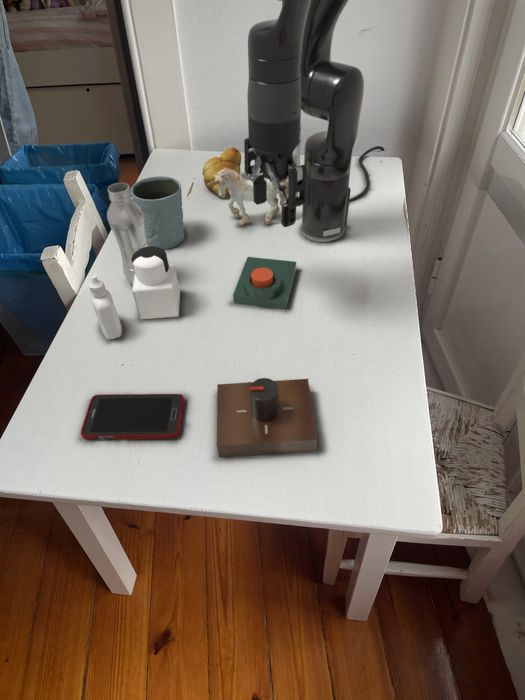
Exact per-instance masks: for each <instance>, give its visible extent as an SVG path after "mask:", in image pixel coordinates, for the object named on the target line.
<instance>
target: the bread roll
mask: <svg viewBox="0 0 525 700" xmlns="http://www.w3.org/2000/svg"><path fill="white" fill-rule="evenodd" d="M241 164H242V154H241V152H240V150H239V149H238V148H236V147H229V148H227V149H225V150H224V151H223V152H222V153H220V155H219V157H218V156H214V157H212V158H209V159H208V160H206V161H205V162H204V165H203V167H202V176H203V182H204V186H205V187H206V188H207V189H208V190H210V191H211V192H214V193H215V194H216V195H217V196H219V189H218V186H217V185H216V184H213V185H208V183H211V182H213V181H215V179H216V178H215V177H213V176H212V175H217V173H218V172H219V171H221V170H223V169H225V168H228V169H230V170H234V171H235V172H237V173H239V174H240V175H241ZM225 192H226V195H225V197H228V196H229V197H230V194H229V188H228V186H227V187H226V190H225Z"/></svg>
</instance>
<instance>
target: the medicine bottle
mask: <svg viewBox="0 0 525 700" xmlns="http://www.w3.org/2000/svg"><path fill="white" fill-rule="evenodd" d="M131 261H132V264H133V268H134V272H135V276H134V282H133V284H132V289H131V291H132V295H133V298H134V301H135V305H136V308H137V311H138V315H139V318H140V320H151V319H163V318H175V317H176V318H177V317H179V316H180V302H181V290H180V285H179V280H178V275H177V270H176V269H177V268H176V264H175V263H169V260H168V255H167V252H166V251H165V249H161V248H159V247H155V246H149V247H144V248H141V249H139V250H137V251H136V252H135V253H134V254H133V256H132V258H131Z"/></svg>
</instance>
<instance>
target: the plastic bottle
mask: <svg viewBox="0 0 525 700" xmlns="http://www.w3.org/2000/svg"><path fill="white" fill-rule="evenodd" d="M107 193H108V199H109V201H110V204H109V206H108V208H107V211H106V220H107V222H108V225H109V226H110V229H111V231H112V233H113V235H114V237H115V240H116V242H117V244H118V248H119V251H120V256H121V260H122V272H123V275H124V277H125V279H126V281H127V282H128V283H130V284H131V285H133V282H134V276H135V272H134V268H133V264H132V261H131V258H132V256H133V254H134V253H135V252H136V251H137V250H139V249H141V248H144V247H149V244H148V240H147V235H146V228H145V216H144V211H143V210H142V208H141V207H140V205H139V204H138V203H137V202H135V201H134V200H133V198H132V193H131V187H130V185H129V184H128V183H126V182H115V183H113V184H111V185H109V186H108V187H107Z"/></svg>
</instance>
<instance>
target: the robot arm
mask: <svg viewBox="0 0 525 700" xmlns="http://www.w3.org/2000/svg"><path fill="white" fill-rule="evenodd" d="M278 1H280V2H281V9H280V13H279V15H278V17H277V18H275V19H270V20H263V21H260V22H257V23H254V24H253V25H252V26H251V27H250V29H249V31H248V35H247V61H248V64H247V65H248V66H247V67H248V82H247V83H248V84H247V95H246V96H247V97H246V98H247V125H248V127H247V128H248V129H247V130H248V131H247V132H248V137H247V138H245V139H244V140H243V142H244V143H243V144H244V145H243V146H244V147H243V148H244V150H243V151H244V152H243V153H244V154H243V157H244V158H243V159H244V173H245V175H249V179H250V180H251V182H253V197H254V201H253V203H254V204H255V205H261V204H264V203H266V202H267V201H266V200H267V181H265V180H264V179H266V178H267V179H269V180H270V181H271V182H272V183H273V187H274V190H275V192H276V193H278V194H277V195H278V196H279V198H280V200H281V202H282V209H281V214H280V215H281V219H280V220H281V221H280V224H281V226H283V228H288V227H291V226H294V224H295V223H296V220H297V207H301V206H302V209H301V210H302V213H301V228H300V231H301V233H302V235H303V236H304V237H305V238H306V239H308V240H310V241H312V242H315V243H331V242H334V241H337V240H339V239H341V238H342V237H343V235H344V233H345V229H346V228H347V227H348V226H347V225H348V217H349V216H348V215H349V207H350V203H351V202H353V201H356V200H358V199H360V198H361V197H363V196H364V195H365V194H366V193H367V192H368V190H369V188H370V178H369V173H368V170H367V168H366V167H365V165H364V163H363V162H362V161H363V158H364V157H365V156H367V155H368V154H370V153H371V152H373V151H374V150H381V151H385V147H383V146H381V145H377V146H372V147H371V148H369V149H368V150H366V151H364V152H363V153H362V154H361V155H360V156H359V158H358V164H359V166H360V167H361V170H363V173H364V178H365V187H364V190H363V191H362V192H360V193H359V194H357V195H356V196H354V197H352V198H351V191H352V190H351V188H350V178H351V177H350V176H351V166H352V159H353V150H354V147H355V143H356V139H357V137H358V132H359V131H358V130H359V124H360V117H361V112H362V105H363V99H364V93H365V80H364V75H363V72H362V71H361V69H360V68H358V67H356V66H354V65H350V64H345V63H341V62H337V61H333V60H331V58H332V57H331V56H332V55H331V54H332V53H331V52H332V44H333V37H334V33H335V29H336V26H337V23H338V21H339V18H340V16H341V14H342V12H343V11H344V9H345V7H346V6H347V4H348V2H349V0H278ZM302 113H304V114H306V115H308V116H310V117H313V118H316V119H320V120H323V121H326V122H328V123H327V130H322V131H318V132H316V133H313V134H311V135H310V136H308V137H307V139H306V140H305V142H304V153H303V154H304V158H303V164H300V166H297V165H295V164H294V160H293V151H294V149H295V148H296V147H297V146H298V144H299V141H300V123H301V120H302V119H301V118H302V116H301V115H302ZM252 161H254V163H253V165H252V164H251V163H252ZM286 179H288V184H285V185H281V184H280V182H283V181H285V180H286ZM285 190H288V198H287V196H286V193H285Z"/></svg>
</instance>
